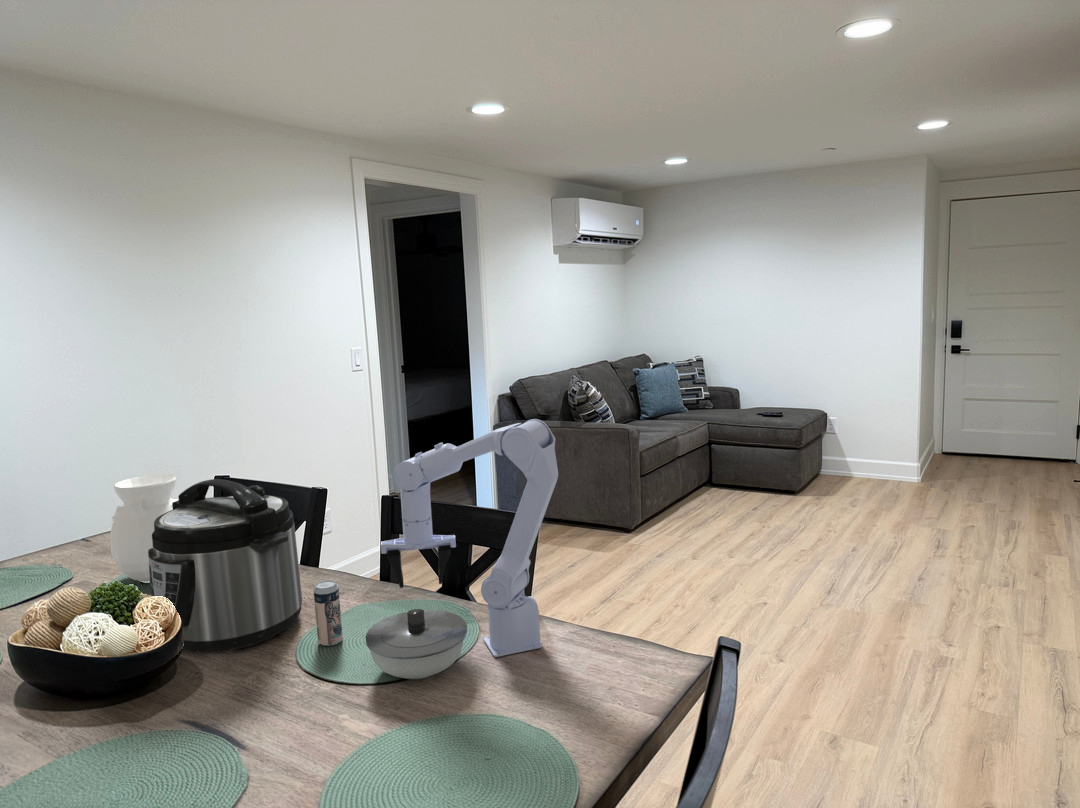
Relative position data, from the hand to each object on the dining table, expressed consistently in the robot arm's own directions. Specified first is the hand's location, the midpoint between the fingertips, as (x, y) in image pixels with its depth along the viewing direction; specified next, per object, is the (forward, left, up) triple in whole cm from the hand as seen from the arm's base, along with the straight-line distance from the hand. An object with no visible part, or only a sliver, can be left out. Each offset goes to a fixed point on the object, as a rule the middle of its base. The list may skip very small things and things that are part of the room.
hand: (421, 584), depth 148 cm
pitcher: (+56, -60, -11) cm, 83 cm away
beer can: (+18, -4, -11) cm, 21 cm away
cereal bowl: (+4, +14, -11) cm, 18 cm away
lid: (+4, +15, -3) cm, 16 cm away
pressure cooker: (+37, -19, -11) cm, 43 cm away
